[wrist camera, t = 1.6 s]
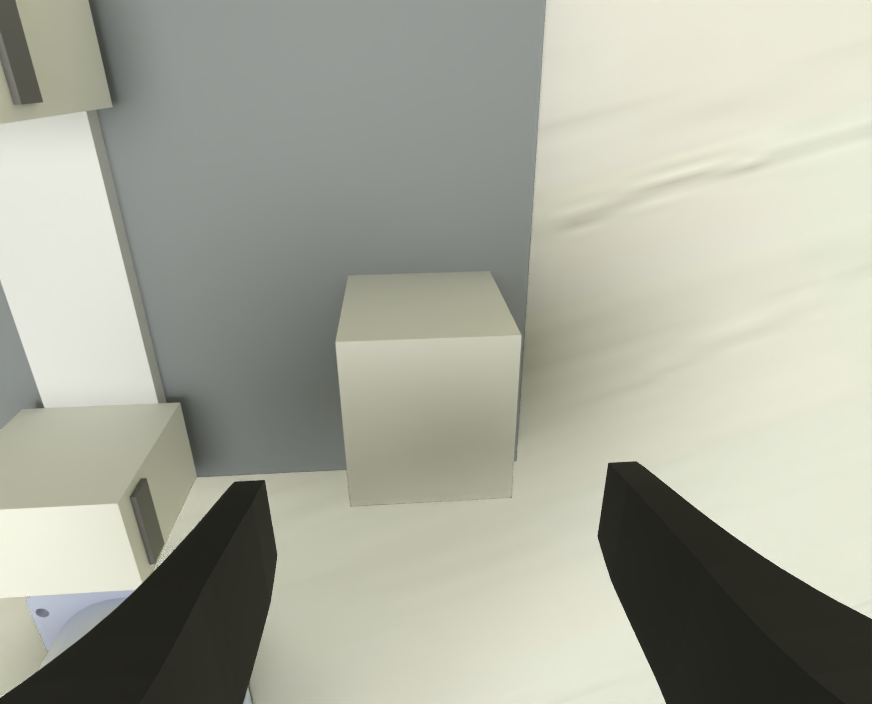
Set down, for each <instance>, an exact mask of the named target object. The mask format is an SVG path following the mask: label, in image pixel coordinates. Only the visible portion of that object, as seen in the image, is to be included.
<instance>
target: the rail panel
mask: <svg viewBox="0 0 872 704" xmlns="http://www.w3.org/2000/svg"><path fill="white" fill-rule="evenodd" d="M545 6H546V0H0V598H9V597H25V596H41V595H58V594H74V593H91V592H107V591H124V590H136V589H137V588H138V587H139V586H140V585H141V584H142V583H143V582H144V581H145V580H146V579H147V578H148V577H149V576H150V575H151V573H152V571H153V569H154V567H155V565H156V562H157V560H158V558H159V556H160V554H161V552H162V550H163V547H164V545H165V543H166V541H167V539H168V537H169V535H170V532H171V530H172V528H173V526H174V524H175V522H176V520H177V517H178V515H179V513H180V511H181V509H182V507H183V505H184V503H185V500H186V498H187V496H188V494H189V492H190V490H191V488H192V485H193V483H194V481H195V479H196V477H210V476H231V475H251V474H271V473H291V472H311V471H331V470H347V466H346V455H345V444H344V433H343V422H342V411H341V400H340V389H339V377H338V366H337V355H336V344H335V341H336V336H337V331H338V326H339V320H340V315H341V310H342V305H343V300H344V294H345V289H346V284H347V279H348V275H375V274H409V273H443V272H476V271H490V272H491V274H492V276H493V278H494V280H495V282H496V284H497V286H498V288H499V290H500V292H501V295H502V297H503V299H504V301H505V303H506V305H507V307H508V309H509V311H510V313H511V315H512V317H513V319H514V321H515V323H516V325H517V327H518V329H519V331H520V333H521V335H522V337H521V353H520V369H519V385H518V401H517V418H516V434H515V450H514V461H516V459H517V443H518V428H519V412H520V397H521V381H522V365H523V350H524V334H525V318H526V303H527V287H528V272H529V256H530V240H531V225H532V209H533V194H534V178H535V162H536V147H537V131H538V115H539V100H540V84H541V69H542V53H543V37H544V22H545Z"/></svg>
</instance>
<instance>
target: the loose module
mask: <svg viewBox="0 0 872 704" xmlns="http://www.w3.org/2000/svg"><path fill="white" fill-rule="evenodd" d="M521 337H522V335H521V333H520V331H519V329H518V327H517V325H516V323H515V321H514V319H513V317H512V315H511V313H510V311H509V309H508V307H507V305H506V303H505V301H504V299H503V297H502V295H501V292H500V290H499V288H498V286H497V284H496V282H495V280H494V278H493V276H492V274H491V272H490V271H476V272H443V273H409V274H375V275H348V279H347V284H346V289H345V294H344V300H343V305H342V310H341V315H340V320H339V326H338V331H337V336H336V341H335V344H336V355H337V366H338V377H339V389H340V400H341V411H342V422H343V433H344V444H345V455H346V466H347V477H348V488H349V500H350V506H367V505H386V504H405V503H423V502H442V501H461V500H479V499H498V498H512V482H513V466H514V450H515V434H516V418H517V401H518V385H519V369H520V353H521Z"/></svg>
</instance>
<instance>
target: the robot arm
mask: <svg viewBox="0 0 872 704" xmlns="http://www.w3.org/2000/svg"><path fill="white" fill-rule="evenodd" d="M598 540H599V543H600V546H601V550H602V553H603V557H604V560H605V563H606V566H607V569H608V572H609V575H610V578H611V581H612V584H613V586H614V588H615V591H616V593H617V595H618V597H619V599H620V602H621V604H622V606H623V608H624V611H625V613H626V615H627V617H628V619H629V621H630V624H631V626H632V628H633V630H634V632H635V635H636V637H637V639H638V641H639V643H640V645H641V648H642V650H643V652H644V654H645V656H646V658H647V661H648V663H649V665H650V667H651V669H652V671H653V674H654V676H655V678H656V680H657V682H658V685H659V687H660V690H661V692H662V694H663V697H664V699H665V702H666V704H872V619H871V618H869V617H867V616H865V615H863V614H861V613H859V612H857V611H855V610H853V609H851V608H849V607H847V606H846V605H844V604H842V603H840V602H838V601H836V600H834V599H832V598H831V597H829V596H827V595H825V594H823V593H822V592H820V591H818V590H816V589H815V588H813V587H811V586H810V585H808V584H806V583H805V582H803V581H801V580H800V579H798V578H796V577H795V576H793V575H791V574H790V573H788V572H786V571H785V570H783V569H781V568H780V567H778V566H777V565H775V564H774V563H772V562H770V561H769V560H767V559H766V558H764V557H763V556H761V555H760V554H758V553H757V552H755V551H754V550H753V549H751V548H750V547H748V546H747V545H745V544H744V543H742V542H741V541H740V540H738V539H737V538H735V537H734V536H732V535H731V534H730V533H728V532H727V531H726V530H724V529H723V528H721V527H720V526H719V525H717V524H716V523H715V522H713V521H712V520H711V519H709V518H708V517H707V516H705V515H704V514H703V513H702V512H700V511H699V510H698V509H696V508H695V507H694V506H693V505H691V504H690V503H689V502H687V501H686V500H685V499H684V498H682V497H681V496H680V495H679V494H677V493H676V492H675V491H674V490H672V489H671V488H670V487H669V486H667V485H666V484H665V483H664V482H662V481H661V480H660V479H659V478H657V477H656V476H655V475H654V474H652V473H651V472H650V471H649V470H647V469H646V468H645V467H643V466H642V465H641V464H639V463H638V462H637V461H636V462H616V463H608V469H607V476H606V483H605V490H604V496H603V503H602V510H601V517H600V524H599V530H598ZM276 561H277V551H276V545H275V539H274V533H273V527H272V521H271V515H270V509H269V503H268V497H267V491H266V485H265V480H259V481H239V482H234V483H233V484H232V485H231V486H230V487H229V488H228V489H227V490H226V492H225V493H224V494H223V495H222V496H221V497H220V499H219V500H218V501H217V502H216V503H215V504H214V506H213V507H212V508H211V509H210V510H209V512H208V513H207V514H206V515H205V516H204V517H203V518H202V520H201V521H200V522H199V523H198V524H197V525H196V527H195V528H194V529H193V530H192V531H191V532H190V533H189V534H188V535H187V537H186V538H185V539H184V540H183V541H182V542H181V543H180V544H179V545H178V546H177V548H176V549H175V550H174V551H173V552H172V553H171V554H170V555H169V556H168V557H167V558H166V559H165V561H164V562H163V563H162V564H161V565H160V566H159V567H158V568H157V569H156V570H155V571H154V572H153V573H152V574H151V575H150V576H149V577H148V578H147V579H146V580H145V581H144V582H143V583H142V584H141V585H140V586H139V587H138V588H137V589H136V590H124V591H107V592H91V593H74V594H58V595H41V596H29V597H28V598H27V600H26V603H27V606H28V608H29V611H30V613H31V615H32V617H33V620H34V622H35V624H36V627H37V629H38V631H39V634H40V636H41V638H42V640H43V643H44V645H45V647H46V650H47V652H48V653H47V655H46V657H45V658H44V660H43V662H42V664H41V665H40V667H39V669H38V671H37V672H36V673H35V674H33V675H32V676H31V677H29V678H28V679H27V680H25V681H24V682H23V683H21V684H20V685H18V686H17V687H15V688H14V689H13V690H11V691H10V692H8V693H7V694H5V695H4V696H2V697H1V698H0V704H252V701H251V697H250V692H249V688H248V685H249V681H250V677H251V674H252V670H253V666H254V663H255V659H256V655H257V652H258V648H259V644H260V641H261V637H262V633H263V629H264V625H265V622H266V618H267V614H268V610H269V606H270V602H271V596H272V590H273V583H274V576H275V568H276Z"/></svg>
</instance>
